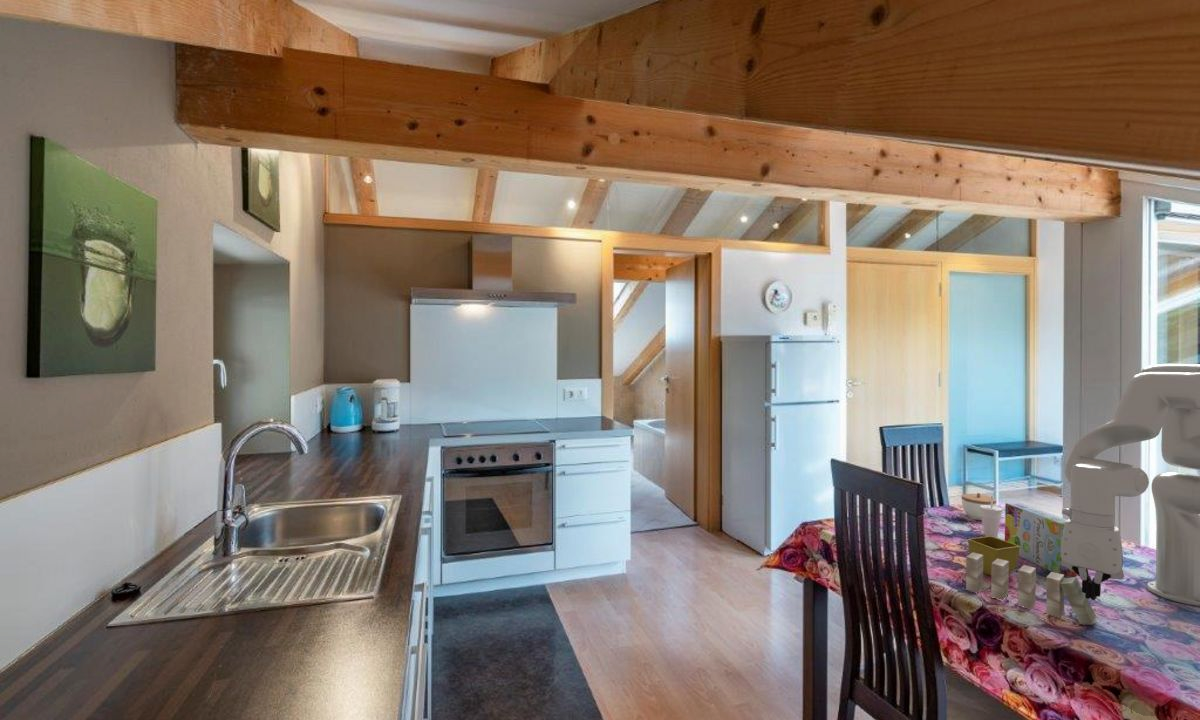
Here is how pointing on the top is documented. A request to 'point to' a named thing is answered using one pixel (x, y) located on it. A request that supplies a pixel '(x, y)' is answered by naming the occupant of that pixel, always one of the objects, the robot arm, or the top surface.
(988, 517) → the smoothie
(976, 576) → the domino
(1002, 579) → the domino
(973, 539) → the flower pot
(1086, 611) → the domino
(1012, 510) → the snack box
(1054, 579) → the domino
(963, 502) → the lidded jar
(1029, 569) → the domino
